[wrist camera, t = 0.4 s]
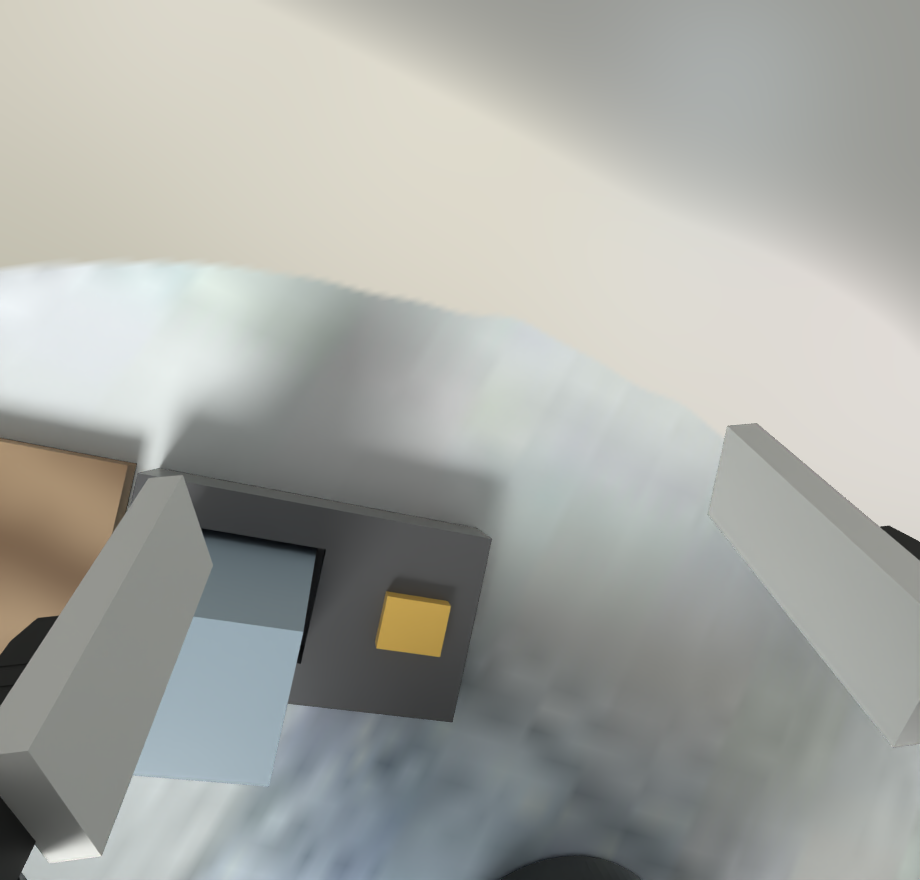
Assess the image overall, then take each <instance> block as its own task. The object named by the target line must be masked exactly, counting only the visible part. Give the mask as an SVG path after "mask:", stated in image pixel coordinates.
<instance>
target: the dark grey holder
mask: <svg viewBox="0 0 920 880" xmlns="http://www.w3.org/2000/svg"><path fill="white" fill-rule="evenodd" d="M177 475H183V477H184V480H185V483H186V486H187V489H188V492H189V495H190V498H191V501H192V504H193V507H194V510H195V513H196V516H197V519H198V522H199V525H200V528H204V529H210V530H216V531H221V532H227V533H233V534H239V535H245V536H251V537H257V538H262V539H268V540H274V541H280V542H286V543H292V544H297V545H303V546H309V547H315V548H317V550H316V557H315V563H314V569H313V575H312V581H311V588H310V594H309V600H308V606H307V612H306V618H305V625H304V631H303V636H302V640H301V645H300V649H299V654H298V658H297V663H296V667H295V672H294V676H293V681H292V685H291V690H290V694H289V699H288V703H287V704H295V705H304V706H313V707H322V708H331V709H340V710H348V711H357V712H366V713H375V714H384V715H393V716H401V717H410V718H419V719H428V720H437V721H445V722H453V717H454V713H455V708H456V704H457V699H458V694H459V690H460V685H461V680H462V676H463V671H464V666H465V662H466V657H467V652H468V648H469V643H470V638H471V634H472V629H473V624H474V620H475V615H476V610H477V606H478V601H479V596H480V592H481V587H482V582H483V578H484V573H485V568H486V564H487V559H488V554H489V550H490V545H491V540H492V539H491V538H490V537H489V536H487V535H486V534H484V533H483V532H482V531H480V530H479V529H478V528H474V527H468V526H463V525H458V524H452V523H447V522H442V521H437V520H431V519H426V518H421V517H415V516H410V515H405V514H400V513H394V512H389V511H384V510H378V509H373V508H368V507H363V506H357V505H352V504H347V503H341V502H336V501H331V500H326V499H320V498H315V497H310V496H304V495H299V494H294V493H289V492H283V491H278V490H273V489H267V488H262V487H257V486H252V485H246V484H241V483H236V482H230V481H225V480H220V479H215V478H209V477H204V476H199V475H193V474H188V473H183V472H178V471H172V470H167V469H162V468H157V469H153V470H149V471H144V472H140V473H138V475H137V479H136V484H135V488H134V492H133V497H132V501H131V504H132V503H133V501H134V500H135V498H136V497H137V495H138V494H139V492H140V490H141V489H142V487H143V486H144V484H145V483H146V481H147V480H148V478H155V477H166V476H177Z"/></svg>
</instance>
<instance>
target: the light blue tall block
mask: <svg viewBox="0 0 920 880" xmlns="http://www.w3.org/2000/svg"><path fill="white" fill-rule="evenodd" d="M201 531H202V534H203V537H204V539H205V542H206V545H207V548H208V551H209V554H210V557H211V560H212V563H213V567H212V569H211V572H210V575H209V577H208V580H207V583H206V585H205V588H204V590H203V593H202V596H201V598H200V601H199V603H198V606H197V609H196V611H195V614H194V616H193V619H192V622H191V624H190V627H189V629H188V632H187V635H186V637H185V640H184V643H183V645H182V648H181V650H180V653H179V656H178V658H177V661H176V663H175V666H174V669H173V671H172V674H171V676H170V679H169V682H168V684H167V687H166V689H165V692H164V695H163V697H162V700H161V703H160V705H159V708H158V710H157V713H156V716H155V718H154V721H153V723H152V726H151V729H150V731H149V734H148V736H147V739H146V742H145V744H144V747H143V750H142V752H141V755H140V757H139V760H138V763H137V765H136V768H135V770H134V773H133V775H135V776H147V777H159V778H171V779H183V780H195V781H207V782H219V783H231V784H243V785H255V786H267V787H269V785H270V780H271V776H272V771H273V767H274V762H275V758H276V753H277V749H278V744H279V740H280V735H281V731H282V726H283V722H284V717H285V712H286V708H287V703H288V699H289V694H290V690H291V685H292V681H293V676H294V672H295V667H296V663H297V658H298V654H299V649H300V645H301V640H302V636H303V631H304V625H305V618H306V612H307V606H308V600H309V594H310V588H311V581H312V575H313V569H314V563H315V557H316V550H317V548H315V547H309V546H303V545H297V544H292V543H286V542H280V541H274V540H268V539H262V538H257V537H251V536H245V535H239V534H233V533H227V532H221V531H216V530H210V529H204V528H201Z"/></svg>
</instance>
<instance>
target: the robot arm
mask: <svg viewBox="0 0 920 880" xmlns="http://www.w3.org/2000/svg"><path fill="white" fill-rule="evenodd" d="M708 516H709V517H710V518H711V520H712V521H713V522H714V523H715V525H716V526H717V527H718V528H719V530H720V531H721V532H722V533H723V535H724V536H725V537H726V538H727V540H728V541H729V542H730V543H731V545H732V546H733V547H734V548H735V550H736V551H737V552H738V553H739V555H740V556H741V557H742V559H743V560H744V561H745V562H746V564H747V565H748V566H749V567H750V569H751V570H752V571H753V572H754V574H755V575H756V576H757V577H758V579H759V580H760V581H761V582H762V584H763V585H764V586H765V587H766V589H767V590H768V591H769V593H770V594H771V595H772V596H773V598H774V599H775V600H776V601H777V603H778V604H779V605H780V606H781V608H782V609H783V610H784V611H785V613H786V614H787V615H788V616H789V618H790V619H791V620H792V621H793V623H794V624H795V625H796V627H797V628H798V629H799V630H800V632H801V633H802V634H803V635H804V637H805V638H806V639H807V640H808V642H809V643H810V644H811V645H812V647H813V648H814V649H815V650H816V652H817V653H818V654H819V655H820V657H821V658H822V659H823V661H824V662H825V663H826V664H827V666H828V667H829V668H830V669H831V671H832V672H833V673H834V674H835V676H836V677H837V678H838V679H839V681H840V682H841V683H842V684H843V686H844V687H845V688H846V689H847V691H848V692H849V693H850V694H851V696H852V697H853V698H854V700H855V701H856V702H857V703H858V705H859V706H860V707H861V708H862V710H863V711H864V712H865V713H866V715H867V716H868V717H869V718H870V720H871V721H872V722H873V723H874V725H875V726H876V727H877V728H878V730H879V731H880V732H881V734H882V735H883V736H884V737H885V739H886V740H887V741H888V742H889V744H890V745H891V746H892V747H893V748H894V747H901V746H909V745H916V744H920V542H919V541H918V540H916V539H914V538H912V537H910V536H908V535H906V534H904V533H902V532H900V531H898V530H896V529H894V528H892V527H891V526H881V527H879V526H878V525H877V524H876V523H874V522H873V521H872V520H871V519H870V518H868V517H867V516H866V515H865V514H864V513H862V512H861V511H860V510H859V509H858V508H857V507H855V506H854V505H853V504H852V503H851V502H850V501H848V500H847V499H846V498H845V497H843V496H842V495H841V494H840V493H839V492H837V491H836V490H835V489H834V488H833V487H832V486H831V485H829V484H828V483H827V482H826V481H825V480H823V479H822V478H821V477H820V476H819V475H817V474H816V473H815V472H814V471H813V470H812V469H810V468H809V467H808V466H807V465H806V464H805V463H803V462H802V461H801V460H800V459H799V458H797V457H796V456H795V455H794V454H793V453H791V452H790V451H789V450H788V449H787V448H786V447H784V446H783V445H782V444H781V443H780V442H778V441H777V440H776V439H775V438H774V437H773V436H771V435H770V434H769V433H768V432H767V431H765V430H764V429H763V428H762V427H761V426H759V425H758V424H757V423H754V424H742V425H731V426H727V429H726V434H725V439H724V443H723V448H722V452H721V457H720V461H719V466H718V470H717V475H716V479H715V484H714V488H713V493H712V497H711V502H710V507H709V511H708ZM212 567H213V563H212V560H211V557H210V554H209V551H208V548H207V545H206V542H205V539H204V537H203V534H202V531H201V528H200V525H199V522H198V519H197V516H196V513H195V510H194V507H193V504H192V501H191V498H190V495H189V492H188V489H187V486H186V483H185V480H184V477H183V475H177V476H166V477H155V478H148V480H147V481H146V483H145V484H144V486H143V487H142V489H141V490H140V492H139V494H138V495H137V497H136V498H135V500H134V501H133V503H132V504H131V506H130V507H129V509H128V510H127V512H126V514H125V515H124V517H123V518H122V520H121V521H120V523H119V524H118V526H117V527H116V529H115V530H114V532H113V534H112V535H111V537H110V538H109V540H108V541H107V543H106V544H105V546H104V547H103V549H102V550H101V552H100V553H99V555H98V557H97V558H96V560H95V561H94V563H93V564H92V566H91V567H90V569H89V570H88V572H87V573H86V575H85V577H84V578H83V580H82V581H81V583H80V584H79V586H78V587H77V589H76V590H75V592H74V593H73V595H72V597H71V598H70V600H69V601H68V603H67V604H66V606H65V607H64V609H63V610H62V612H61V613H60V615H59V616H50V617H41V618H37V619H36V620H34V621H33V622H32V623H31V624H30V625H29V626H27V627H26V628H25V629H24V630H23V631H21V632H20V633H19V634H18V635H17V636H16V637H14V638H13V639H12V640H11V641H10V642H9V643H8V645H7V646H6V648H5V649H4V650H3V652H2V653H1V655H0V880H27V879H26V878H25V876H24V875H23V874H22V873H21V872H22V869H23V867H24V865H25V863H26V861H27V859H28V857H29V855H30V853H31V851H32V849H33V847H34V845H36V847H37V848H38V849H39V850H40V852H41V853H42V854H43V855H44V857H45V858H46V859H47V860H48V862H49V863H57V862H64V861H72V860H79V859H86V858H93V857H101V856H102V854H103V851H104V849H105V846H106V843H107V841H108V838H109V836H110V833H111V830H112V828H113V825H114V823H115V820H116V817H117V815H118V812H119V810H120V807H121V804H122V802H123V799H124V796H125V794H126V791H127V789H128V786H129V783H130V781H131V778H132V776H133V773H134V770H135V768H136V765H137V763H138V760H139V757H140V755H141V752H142V750H143V747H144V744H145V742H146V739H147V736H148V734H149V731H150V729H151V726H152V723H153V721H154V718H155V716H156V713H157V710H158V708H159V705H160V703H161V700H162V697H163V695H164V692H165V689H166V687H167V684H168V682H169V679H170V676H171V674H172V671H173V669H174V666H175V663H176V661H177V658H178V656H179V653H180V650H181V648H182V645H183V643H184V640H185V637H186V635H187V632H188V629H189V627H190V624H191V622H192V619H193V616H194V614H195V611H196V609H197V606H198V603H199V601H200V598H201V596H202V593H203V590H204V588H205V585H206V583H207V580H208V577H209V575H210V572H211V569H212ZM501 880H641V879H640V878H639V877H638V876H636V875H635V874H633V873H632V872H630V871H629V870H627V869H626V868H624V867H622V866H620V865H618V864H615V863H612V862H610V861H607V860H603V859H599V858H594V857H586V856H564V857H557V858H551V859H546V860H543V861H539V862H536V863H533V864H530V865H528V866H525V867H523V868H521V869H518V870H516V871H514V872H512V873H511V874H509V875H507V876H505V877H504V878H502V879H501Z"/></svg>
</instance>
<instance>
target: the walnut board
mask: <svg viewBox="0 0 920 880" xmlns="http://www.w3.org/2000/svg"><path fill="white" fill-rule="evenodd" d="M136 465H137V464H135V463H130V462H125V461H119V460H114V459H109V458H103V457H98V456H93V455H88V454H82V453H77V452H72V451H66V450H61V449H56V448H51V447H45V446H40V445H35V444H29V443H24V442H19V441H14V440H8V439H3V438H0V655H1V653H2V652H3V650H4V649H5V648H6V646H7V645H8V643H9V642H10V641H11V640H12V639H13V638H14V637H16V636H17V635H18V634H19V633H20V632H21V631H23V630H24V629H25V628H26V627H27V626H29V625H30V624H31V623H32V622H33V621H34V620H36V619H37V618H41V617H50V616H59V615H60V613H61V612H62V610H63V609H64V607H65V606H66V604H67V603H68V601H69V600H70V598H71V597H72V595H73V593H74V592H75V590H76V589H77V587H78V586H79V584H80V583H81V581H82V580H83V578H84V577H85V575H86V573H87V572H88V570H89V569H90V567H91V566H92V564H93V563H94V561H95V560H96V558H97V557H98V555H99V553H100V552H101V550H102V549H103V547H104V546H105V544H106V543H107V541H108V540H109V538H110V537H111V535H112V534H113V532H114V530H115V529H116V527H117V526H118V524H119V523H120V521H121V520H122V518H123V517H124V515H125V513H126V508H127V504H128V500H129V495H130V491H131V487H132V482H133V478H134V473H135V469H136Z"/></svg>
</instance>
